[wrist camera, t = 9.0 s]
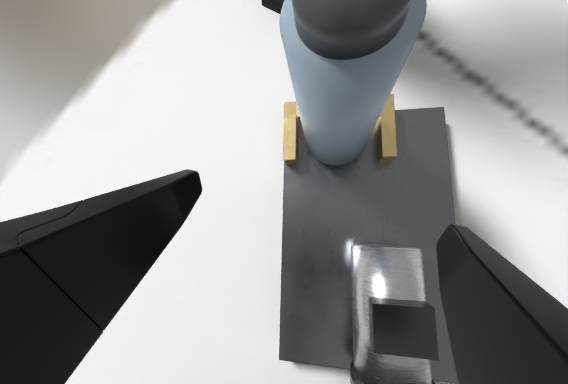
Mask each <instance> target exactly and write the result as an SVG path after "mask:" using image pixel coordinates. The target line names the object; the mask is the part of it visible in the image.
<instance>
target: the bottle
mask: <svg viewBox="0 0 568 384" xmlns="http://www.w3.org/2000/svg"><path fill="white" fill-rule="evenodd" d="M425 14H426V0H284V3H283V6H282V9H281V14H280V32H281V37H282V41H283V45H284V50H285V54H286V58H287V63H288V67H289V71H290V75H291V80H292V84H293V88H294V93H295V97H296V101H297V106H298V110H299V114H300V119H301V123H302V127H303V132H304V136H305V140H306V144H307V147H308V150H309V151H310V153H311V154H312V156H313V157H314V158H316V159H317V160H318V161H320V162H322V163H325V164H328V165H343V164H346V163H349V162H351V161H353V160H354V159H356V158H357V157H358V156H359V155H360V154H361V153H362V151H363V150H364V148H365V146H366V144H367V142H368V140H369V138H370V135H371V133H372V131H373V129H374V127H375V125H376V123H377V120H378V118H379V116H380V114H381V112H382V110H383V108H384V106H385V103H386V101H387V99H388V97H389V95H390V93H391V91H392V89H393V86H394V84H395V82H396V80H397V78H398V76H399V74H400V72H401V69H402V67H403V65H404V63H405V61H406V59H407V57H408V55H409V52H410V50H411V48H412V46H413V44H414V42H415V40H416V37H417V35H418V33H419V31H420V29H421V26H422V24H423V22H424V18H425Z"/></svg>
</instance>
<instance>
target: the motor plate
mask: <svg viewBox="0 0 568 384" xmlns="http://www.w3.org/2000/svg"><path fill="white" fill-rule="evenodd" d="M298 114H299V111H298V107H297V103H296V102H286V103H285V104H284V141H283V160H284V190H283V229H282V268H281V308H280V347H279V360H284V361H291V362H299V363H306V364H314V365H321V366H329V367H337V368H344V369H350V380H351V384H435V383H434V381H442V382H449V383H457V384H459V383H458V378H457V374H456V369H455V364H454V359H453V354H452V349H451V344H450V340H449V335H448V330H447V325H446V320H445V315H444V310H443V306H442V301H441V295H440V289H439V278H438V265H437V251H436V245H437V242H438V240H439V238H440V237H441V235H442V234H443V232H444V231H445V229H446V228H447V226H448V225H450V224H455V219H454V209H453V198H452V188H451V177H450V166H449V156H448V145H447V135H446V124H445V113H444V107H437V108H422V109H407V110H394V94H390V95H389V97H388V99H387V101H386V103H385V106H384V108H383V110H382V112H381V114H380V116H379V118H378V120H377V123H376V125H375V127H374V129H373V131H372V133H371V135H370V138H369V140H368V142H367V144H366V146H365V148H364V150H363V151H362V153H361V154H360V155H359V156H358V157H357V158H356V159H354V160H353V161H351V162H349V163H346V164H343V165H328V164H325V163H322V162H320V161H318V160H317V159H316V158H314V157H313V156H312V154H311V153H310V151H309V150H308V147H307V144H306V140H305V136H304V132H303V127H302V123H301V119H300V117H298ZM433 380H434V381H433Z"/></svg>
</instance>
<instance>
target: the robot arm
mask: <svg viewBox="0 0 568 384" xmlns="http://www.w3.org/2000/svg"><path fill="white" fill-rule="evenodd" d="M201 192H202V186H201V181H200V177H199V173H198V172H197V171H194V170H183V171H180V172H177V173H173V174H170V175H166V176H163V177H160V178H156V179H153V180H149V181H146V182H143V183H139V184H136V185H132V186H129V187H126V188H122V189H119V190H115V191H112V192H109V193H105V194H102V195H99V196H95V197H92V198H88V199H85V200H84V201H83V200H81V201H78V202H75V203H71V204H68V205H64V206H61V207H57V208H54V209H50V210H46V211H43V212H39V213H35V214H31V215H27V216H23V217H19V218H16V219H12V220H8V221H4V222H0V384H65V383H66V381H67V380H68V378H69V377H70V376H71V374H72V373H73V372H74V370H75V369H76V368H77V366H78V365H79V364H80V362H81V361H82V360H83V358H84V357H85V356H86V354H87V353H88V352H89V350H90V349H91V348H92V346H93V345H94V343H95V342H96V341H97V339H98V338H99V337H100V335H101V334H102V333H103V330H105V328H106V327H107V326H108V324H109V323H110V322H111V320H112V319H113V318H114V316H115V315H116V314H117V312H118V311H119V310H120V308H121V307H122V306H123V304H124V303H125V302H126V300H127V299H128V297H129V296H130V295H131V293H132V292H133V291H134V289H135V288H136V287H137V285H138V284H139V283H140V281H141V280H142V279H143V277H144V276H145V275H146V273H147V272H148V271H149V269H150V268H151V267H152V265H153V264H154V263H155V261H156V260H157V258H158V257H159V256H160V254H161V253H162V252H163V250H164V249H165V248H166V246H167V245H168V244H169V242H170V241H171V240H172V238H173V237H174V236H175V234H176V233H177V232H178V230H179V229H180V228H181V226H182V225H183V223H184V222H185V220H186V218H187V217H188V215H189V213H190V212H191V210H192V208H193V207H194V205H195V203H196V202H197V200H198V198H199V196H200V195H201ZM436 251H437V265H438V278H439V289H440V295H441V301H442V306H443V310H444V315H445V320H446V325H447V330H448V335H449V340H450V344H451V349H452V354H453V359H454V364H455V369H456V374H457V378H458V383H459V384H568V308H566V307H565V306H564V305H563V304H561V303H560V302H559V301H558V300H556V299H555V298H554V297H553V296H551V295H550V294H549V293H548V292H546V291H545V290H544V289H543V288H541V287H540V286H539V285H538V284H536V283H535V282H534V281H533V280H532V279H530V278H529V277H528V276H527V275H525V274H524V273H523V272H522V271H520V270H519V269H518V268H517V267H515V266H514V265H513V264H512V263H510V262H509V261H508V260H507V259H505V258H504V257H503V256H502V255H500V254H499V253H498V252H497V251H496V250H494V249H493V248H492V247H491V246H489V245H488V244H487V243H486V242H484V241H483V240H482V239H481V238H479V237H478V236H477V235H476V234H474V233H473V232H472V231H471V230H469V229H468V228H467V227H465V226H460V225H456V224H450V225H448V226H447V228H446V229H445V231H444V232H443V234H442V235H441V237H440V238H439V240H438V242H437V245H436Z"/></svg>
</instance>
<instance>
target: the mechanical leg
mask: <svg viewBox="0 0 568 384" xmlns="http://www.w3.org/2000/svg"><path fill="white" fill-rule="evenodd" d="M283 3H284V0H262V5H263V6H265V7H267V8H269V9H271V10H273V11H276V12H278V13H280V14H281V9H282V6H283Z"/></svg>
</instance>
